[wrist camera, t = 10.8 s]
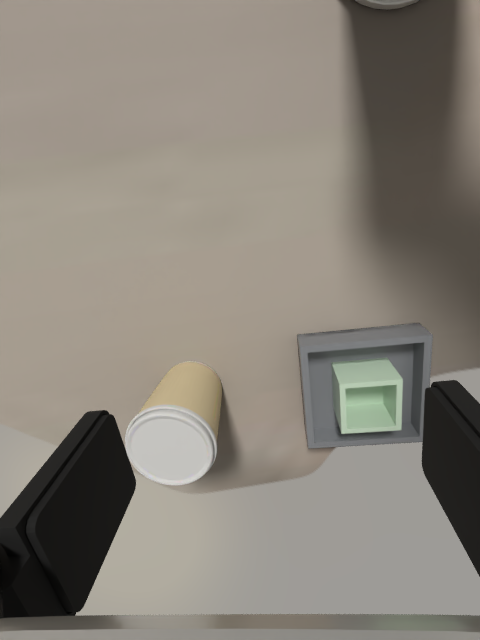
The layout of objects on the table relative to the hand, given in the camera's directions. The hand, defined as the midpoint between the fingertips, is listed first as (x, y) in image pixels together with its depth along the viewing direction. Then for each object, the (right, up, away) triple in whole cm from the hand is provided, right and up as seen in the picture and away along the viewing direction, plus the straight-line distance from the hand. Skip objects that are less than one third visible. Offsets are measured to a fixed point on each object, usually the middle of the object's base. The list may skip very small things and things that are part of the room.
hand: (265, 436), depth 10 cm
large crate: (+14, -4, +32) cm, 36 cm away
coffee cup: (-7, -5, +35) cm, 36 cm away
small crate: (+14, -4, +32) cm, 35 cm away
